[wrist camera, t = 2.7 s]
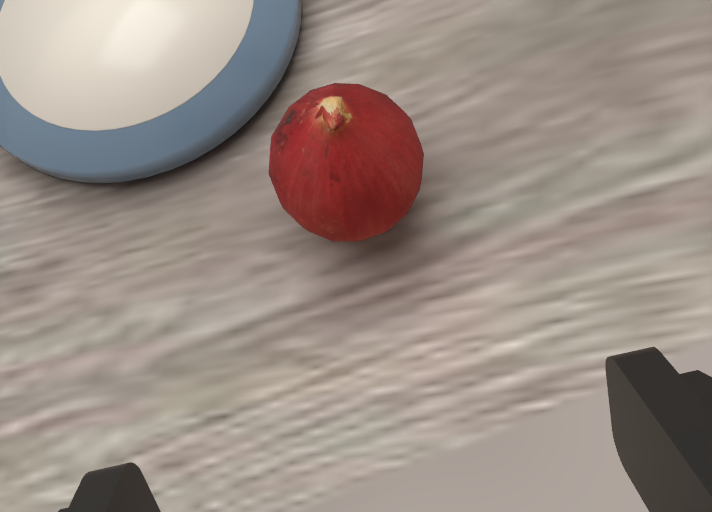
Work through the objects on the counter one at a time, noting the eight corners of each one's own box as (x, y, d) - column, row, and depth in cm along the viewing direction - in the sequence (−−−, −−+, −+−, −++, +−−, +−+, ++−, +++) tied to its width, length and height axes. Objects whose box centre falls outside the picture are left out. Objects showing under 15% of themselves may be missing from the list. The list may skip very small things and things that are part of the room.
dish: (276, -128, 36) (267, -160, 35) (333, 138, 30) (325, 116, 29) (-18, -47, 38) (-41, -73, 36) (-21, 226, 31) (-49, 210, 30)
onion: (269, 236, 29) (205, 144, 22) (330, 127, 31) (290, 7, 23) (390, 289, 28) (366, 210, 20) (449, 172, 29) (446, 58, 22)
